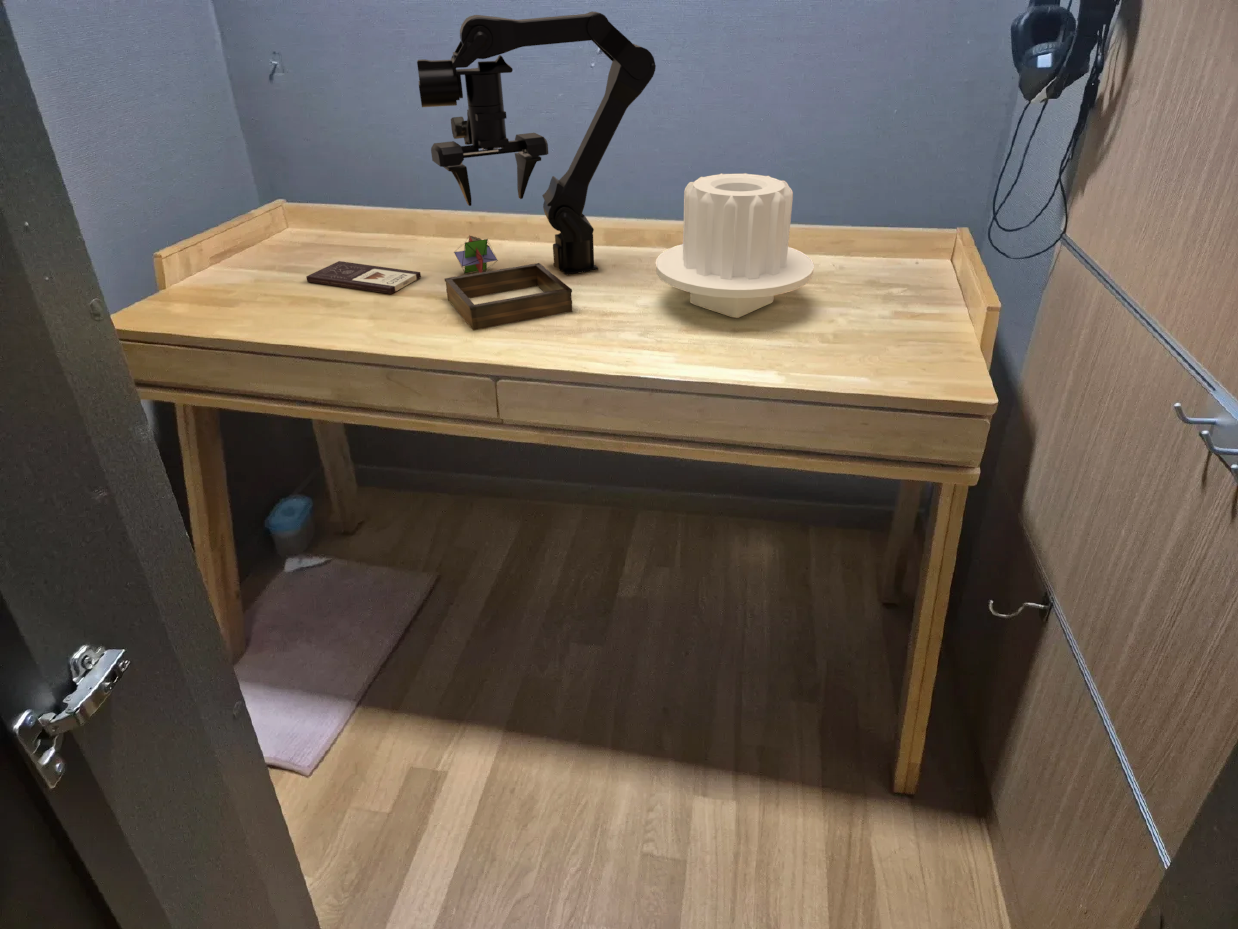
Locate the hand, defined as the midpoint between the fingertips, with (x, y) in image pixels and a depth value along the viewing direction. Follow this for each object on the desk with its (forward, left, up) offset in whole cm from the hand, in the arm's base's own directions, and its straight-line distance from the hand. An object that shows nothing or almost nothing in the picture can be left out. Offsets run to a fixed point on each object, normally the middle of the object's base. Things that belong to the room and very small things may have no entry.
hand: (495, 201), depth 140 cm
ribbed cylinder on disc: (-29, +31, -13) cm, 45 cm away
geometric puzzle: (+4, -3, -13) cm, 14 cm away
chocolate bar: (+23, -9, -13) cm, 28 cm away
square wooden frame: (+4, +15, -13) cm, 20 cm away
